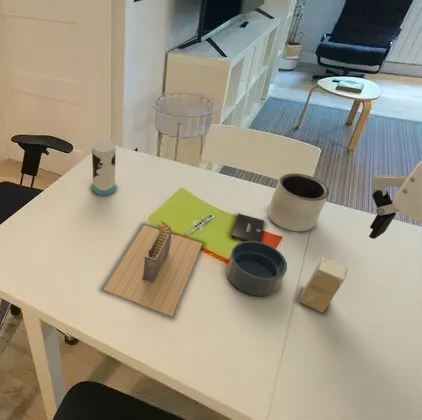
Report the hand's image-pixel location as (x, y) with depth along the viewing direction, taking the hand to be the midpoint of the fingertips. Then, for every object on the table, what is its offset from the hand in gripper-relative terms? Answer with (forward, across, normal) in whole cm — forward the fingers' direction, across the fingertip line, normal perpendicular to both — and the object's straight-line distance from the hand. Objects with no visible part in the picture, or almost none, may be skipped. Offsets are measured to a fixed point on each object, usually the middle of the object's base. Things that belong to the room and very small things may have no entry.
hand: (411, 254), depth 52 cm
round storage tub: (+30, +23, -5) cm, 38 cm away
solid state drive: (+30, +35, -17) cm, 49 cm away
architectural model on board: (+30, +38, +12) cm, 50 cm away
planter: (+30, +32, -31) cm, 54 cm away
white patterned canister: (+30, +72, +6) cm, 78 cm away
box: (+30, +11, -11) cm, 34 cm away
